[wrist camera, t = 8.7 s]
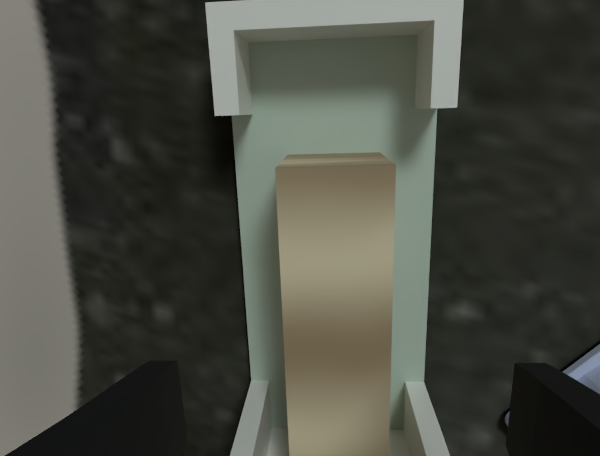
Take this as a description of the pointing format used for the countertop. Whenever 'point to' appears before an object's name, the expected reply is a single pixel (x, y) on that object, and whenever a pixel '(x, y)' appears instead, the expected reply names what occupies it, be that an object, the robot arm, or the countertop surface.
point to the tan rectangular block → (337, 300)
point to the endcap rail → (335, 139)
